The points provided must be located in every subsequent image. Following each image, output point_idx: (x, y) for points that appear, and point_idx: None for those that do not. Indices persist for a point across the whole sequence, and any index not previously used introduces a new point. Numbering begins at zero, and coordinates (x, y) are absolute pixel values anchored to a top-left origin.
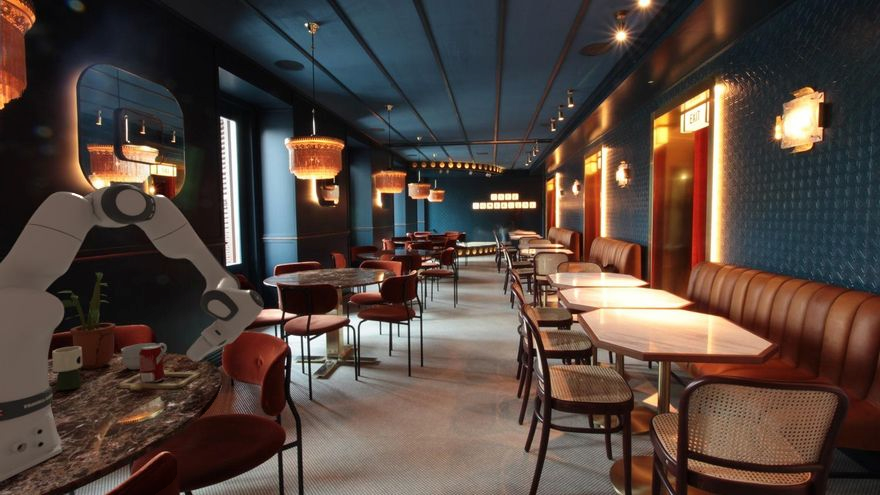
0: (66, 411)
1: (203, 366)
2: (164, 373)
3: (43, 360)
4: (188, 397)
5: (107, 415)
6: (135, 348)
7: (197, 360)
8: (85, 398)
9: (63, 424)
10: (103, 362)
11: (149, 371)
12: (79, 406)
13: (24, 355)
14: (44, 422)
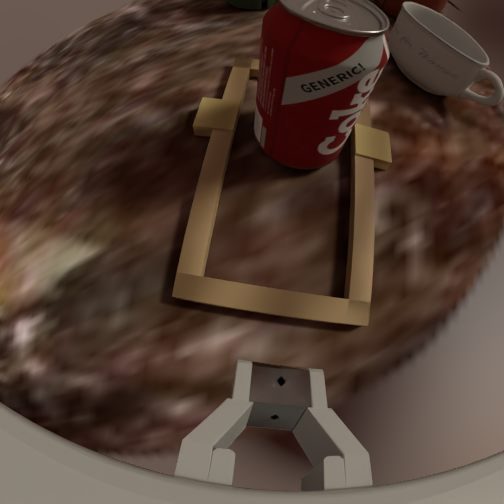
0: (85, 64)
1: (463, 276)
2: (355, 153)
3: None
4: (69, 377)
5: (12, 169)
6: (454, 34)
7: (230, 397)
8: (163, 46)
9: (14, 112)
10: (397, 11)
11: (258, 104)
12: (105, 66)
13: None
14: None
